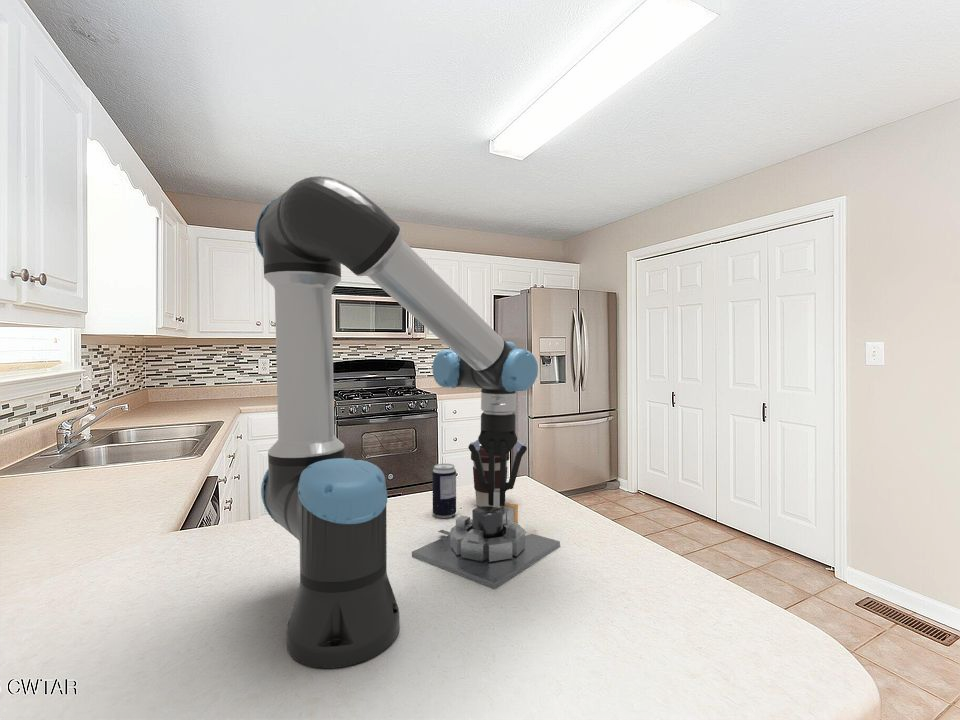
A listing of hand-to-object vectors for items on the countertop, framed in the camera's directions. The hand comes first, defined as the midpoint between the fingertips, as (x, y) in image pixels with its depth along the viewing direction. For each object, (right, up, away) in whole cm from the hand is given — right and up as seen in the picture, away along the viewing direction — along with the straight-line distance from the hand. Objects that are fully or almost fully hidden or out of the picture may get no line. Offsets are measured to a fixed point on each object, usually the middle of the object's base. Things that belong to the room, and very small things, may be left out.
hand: (496, 520), depth 103 cm
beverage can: (-12, -3, +11) cm, 17 cm away
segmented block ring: (-1, -2, -7) cm, 7 cm away
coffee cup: (-1, -3, +19) cm, 19 cm away
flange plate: (-3, -3, -8) cm, 9 cm away
